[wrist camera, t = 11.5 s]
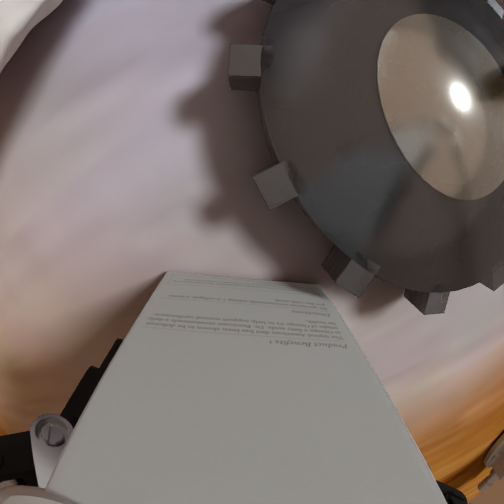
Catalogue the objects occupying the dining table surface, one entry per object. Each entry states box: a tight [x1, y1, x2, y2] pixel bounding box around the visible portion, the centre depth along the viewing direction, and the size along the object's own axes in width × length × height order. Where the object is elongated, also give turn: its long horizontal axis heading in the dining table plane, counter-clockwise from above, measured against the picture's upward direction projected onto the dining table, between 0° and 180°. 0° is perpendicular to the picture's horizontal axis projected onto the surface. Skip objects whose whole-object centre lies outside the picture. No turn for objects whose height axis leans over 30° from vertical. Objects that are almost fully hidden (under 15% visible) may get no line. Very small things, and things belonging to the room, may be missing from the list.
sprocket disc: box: [228, 0, 504, 315], centre depth 8 cm, size 18×18×6 cm
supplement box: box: [44, 271, 447, 504], centre depth 8 cm, size 7×7×13 cm
